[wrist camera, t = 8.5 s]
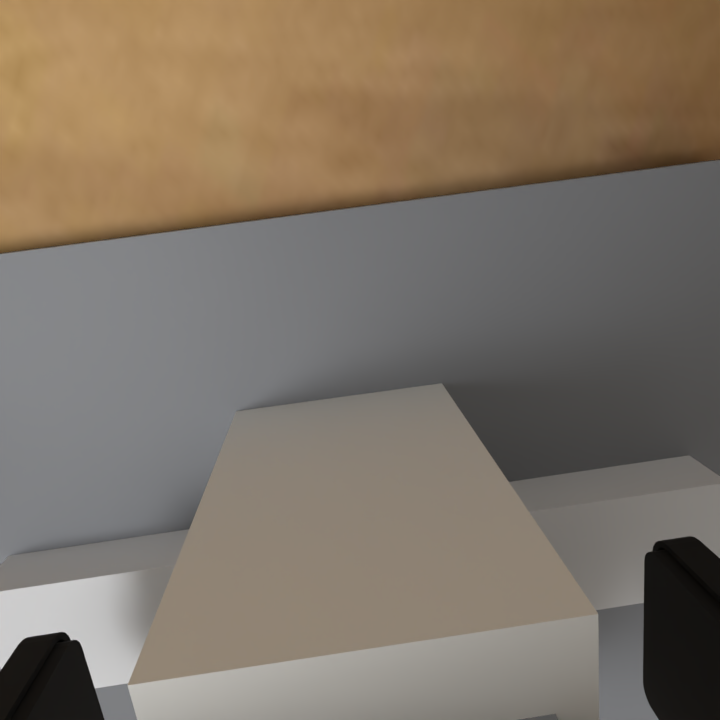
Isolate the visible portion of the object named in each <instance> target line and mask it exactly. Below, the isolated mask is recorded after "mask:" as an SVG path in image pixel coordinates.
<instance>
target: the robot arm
mask: <svg viewBox="0 0 720 720" xmlns="http://www.w3.org/2000/svg"><path fill="white" fill-rule="evenodd" d="M643 687H644V691H645V695H646V698H647V700H648V702H649V705H650V707H651V708H652V710H653V712H654V713H655V715H656V716H657V718H658V719H659V720H720V558H719V557H718V556H717V555H716V554H714V553H713V552H712V551H711V550H710V549H709V548H708V547H707V546H705V545H704V544H703V543H702V542H701V541H700V540H698V539H697V538H695V537H692V536H687V537H681V538H674V539H668V540H661V541H657V542H655V544H654V546H653V551H651V552H648V553H646V555H645V559H644V629H643ZM0 720H104V716H103V713H102V710H101V707H100V704H99V700H98V697H97V694H96V691H95V688H94V684H93V681H92V678H91V675H90V671H89V668H88V665H87V662H86V659H85V655H84V652H83V649H82V646H81V644H80V642H79V641H78V640H71V639H70V637H69V635H67V634H66V633H65V632H58V633H51V634H45V635H38V636H32V637H27V638H25V639H23V640H22V641H21V642H20V643H19V644H18V646H17V647H16V649H15V650H14V652H13V653H12V655H11V656H10V658H9V659H8V660H7V662H6V663H5V665H4V666H3V668H2V669H1V671H0Z"/></svg>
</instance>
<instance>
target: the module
mask: <svg viewBox="0 0 720 720" xmlns="http://www.w3.org/2000/svg"><path fill="white" fill-rule="evenodd" d="M127 686H128V689H129V693H130V696H131V700H132V703H133V707H134V710H135V714H136V717H137V720H599V627H598V613H597V611H596V610H595V608H594V607H593V605H592V604H591V602H590V601H589V599H588V598H587V597H586V595H585V594H584V592H583V591H582V589H581V588H580V586H579V585H578V583H577V582H576V580H575V579H574V577H573V576H572V574H571V573H570V571H569V570H568V569H567V567H566V566H565V564H564V563H563V561H562V560H561V558H560V557H559V555H558V554H557V552H556V551H555V549H554V548H553V546H552V545H551V543H550V542H549V540H548V539H547V538H546V536H545V535H544V533H543V532H542V530H541V529H540V527H539V526H538V524H537V523H536V521H535V520H534V518H533V517H532V515H531V514H530V512H529V511H528V510H527V508H526V507H525V505H524V504H523V502H522V501H521V499H520V498H519V496H518V495H517V493H516V492H515V490H514V489H513V487H512V486H511V484H510V483H509V482H508V480H507V479H506V477H505V476H504V474H503V473H502V471H501V470H500V468H499V467H498V465H497V464H496V462H495V461H494V459H493V458H492V456H491V455H490V454H489V452H488V451H487V449H486V448H485V446H484V445H483V443H482V442H481V440H480V439H479V437H478V436H477V434H476V433H475V431H474V430H473V428H472V427H471V426H470V424H469V423H468V421H467V420H466V418H465V417H464V415H463V414H462V412H461V411H460V409H459V408H458V406H457V405H456V403H455V402H454V400H453V399H452V398H451V396H450V395H449V393H448V392H447V390H446V389H445V387H444V386H443V384H442V383H440V384H433V385H425V386H418V387H411V388H403V389H396V390H389V391H381V392H374V393H366V394H359V395H352V396H344V397H337V398H330V399H322V400H315V401H308V402H300V403H293V404H286V405H278V406H271V407H264V408H256V409H249V410H242V411H236V413H235V415H234V418H233V420H232V423H231V425H230V428H229V430H228V433H227V435H226V438H225V440H224V443H223V445H222V448H221V451H220V453H219V456H218V458H217V461H216V463H215V466H214V468H213V471H212V473H211V476H210V478H209V481H208V483H207V486H206V488H205V491H204V493H203V496H202V499H201V501H200V504H199V506H198V509H197V511H196V514H195V516H194V519H193V521H192V524H191V526H190V529H189V531H188V534H187V536H186V539H185V541H184V544H183V546H182V549H181V552H180V554H179V557H178V559H177V562H176V564H175V567H174V569H173V572H172V574H171V577H170V579H169V582H168V584H167V587H166V589H165V592H164V594H163V597H162V600H161V602H160V605H159V607H158V610H157V612H156V615H155V617H154V620H153V622H152V625H151V627H150V630H149V632H148V635H147V637H146V640H145V642H144V645H143V648H142V650H141V653H140V655H139V658H138V660H137V663H136V665H135V668H134V670H133V673H132V675H131V678H130V680H129V683H128V685H127Z"/></svg>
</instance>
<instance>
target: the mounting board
mask: <svg viewBox="0 0 720 720" xmlns="http://www.w3.org/2000/svg"><path fill="white" fill-rule="evenodd" d="M440 383H442V384H443V386H444V387H445V389H446V390H447V392H448V393H449V395H450V396H451V398H452V399H453V400H454V402H455V403H456V405H457V406H458V408H459V409H460V411H461V412H462V414H463V415H464V417H465V418H466V420H467V421H468V423H469V424H470V426H471V427H472V428H473V430H474V431H475V433H476V434H477V436H478V437H479V439H480V440H481V442H482V443H483V445H484V446H485V448H486V449H487V451H488V452H489V454H490V455H491V456H492V458H493V459H494V461H495V462H496V464H497V465H498V467H499V468H500V470H501V471H502V473H503V474H504V476H505V477H506V479H507V480H508V482H509V483H510V484H511V486H512V487H513V489H514V490H515V492H516V493H517V495H518V496H519V498H520V499H521V501H522V502H523V504H524V505H525V507H526V508H527V510H528V511H529V512H530V514H531V515H532V517H533V518H534V520H535V521H536V523H537V524H538V526H539V527H540V529H541V530H542V532H543V533H544V535H545V536H546V538H547V539H548V540H549V542H550V543H551V545H552V546H553V548H554V549H555V551H556V552H557V554H558V555H559V557H560V558H561V560H562V561H563V563H564V564H565V566H566V567H567V569H568V570H569V571H570V573H571V574H572V576H573V577H574V579H575V580H576V582H577V583H578V585H579V586H580V588H581V589H582V591H583V592H584V594H585V595H586V597H587V598H588V599H589V601H590V602H591V604H592V605H593V607H594V608H595V610H596V611H597V613H598V627H599V720H659V719H658V718H657V716H656V715H655V713H654V712H653V710H652V708H651V707H650V705H649V702H648V700H647V698H646V695H645V691H644V687H643V629H644V559H645V555H646V553H648V552H651V551H653V546H654V544H655V542H657V541H661V540H668V539H674V538H681V537H687V536H692V537H695V538H697V539H698V540H700V541H701V542H702V543H703V544H704V545H705V546H707V547H708V548H709V549H710V550H711V551H712V552H713V553H714V554H716V555H717V556H718V557H719V558H720V159H719V160H710V161H702V162H694V163H687V164H679V165H672V166H664V167H656V168H649V169H641V170H633V171H626V172H618V173H610V174H603V175H595V176H587V177H580V178H572V179H564V180H557V181H549V182H541V183H534V184H526V185H518V186H511V187H503V188H495V189H488V190H480V191H472V192H465V193H457V194H449V195H442V196H434V197H427V198H419V199H411V200H404V201H396V202H388V203H381V204H373V205H365V206H358V207H350V208H342V209H335V210H327V211H319V212H312V213H304V214H296V215H289V216H281V217H273V218H266V219H258V220H250V221H243V222H235V223H227V224H220V225H212V226H204V227H197V228H189V229H181V230H174V231H166V232H159V233H151V234H143V235H136V236H128V237H120V238H113V239H105V240H97V241H90V242H82V243H74V244H67V245H59V246H51V247H44V248H36V249H28V250H21V251H13V252H5V253H0V671H1V669H2V668H3V666H4V665H5V663H6V662H7V660H8V659H9V658H10V656H11V655H12V653H13V652H14V650H15V649H16V647H17V646H18V644H19V643H20V642H21V641H22V640H23V639H25V638H27V637H32V636H38V635H45V634H51V633H58V632H65V633H66V634H67V635H69V637H70V639H71V640H78V641H79V642H80V644H81V646H82V649H83V652H84V655H85V659H86V662H87V665H88V668H89V671H90V675H91V678H92V681H93V684H94V688H95V691H96V694H97V697H98V700H99V704H100V707H101V710H102V713H103V716H104V720H137V717H136V714H135V710H134V707H133V703H132V700H131V696H130V693H129V689H128V686H127V685H128V683H129V680H130V678H131V675H132V673H133V670H134V668H135V665H136V663H137V660H138V658H139V655H140V653H141V650H142V648H143V645H144V642H145V640H146V637H147V635H148V632H149V630H150V627H151V625H152V622H153V620H154V617H155V615H156V612H157V610H158V607H159V605H160V602H161V600H162V597H163V594H164V592H165V589H166V587H167V584H168V582H169V579H170V577H171V574H172V572H173V569H174V567H175V564H176V562H177V559H178V557H179V554H180V552H181V549H182V546H183V544H184V541H185V539H186V536H187V534H188V531H189V529H190V526H191V524H192V521H193V519H194V516H195V514H196V511H197V509H198V506H199V504H200V501H201V499H202V496H203V493H204V491H205V488H206V486H207V483H208V481H209V478H210V476H211V473H212V471H213V468H214V466H215V463H216V461H217V458H218V456H219V453H220V451H221V448H222V445H223V443H224V440H225V438H226V435H227V433H228V430H229V428H230V425H231V423H232V420H233V418H234V415H235V413H236V411H242V410H249V409H256V408H264V407H271V406H278V405H286V404H293V403H300V402H308V401H315V400H322V399H330V398H337V397H344V396H352V395H359V394H366V393H374V392H381V391H389V390H396V389H403V388H411V387H418V386H425V385H433V384H440Z"/></svg>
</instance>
